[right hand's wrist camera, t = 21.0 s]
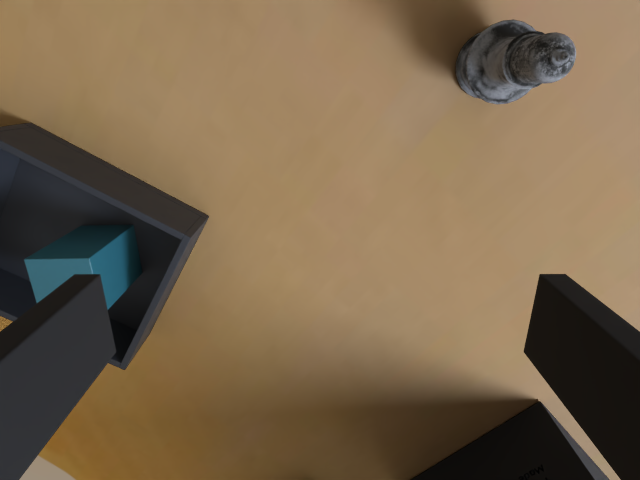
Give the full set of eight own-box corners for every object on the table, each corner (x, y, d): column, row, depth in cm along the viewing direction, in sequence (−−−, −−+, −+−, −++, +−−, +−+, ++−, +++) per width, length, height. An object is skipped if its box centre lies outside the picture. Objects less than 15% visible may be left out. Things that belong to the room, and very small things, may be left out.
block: (80, 225, 39) (23, 259, 31) (133, 224, 39) (89, 258, 31) (92, 273, 40) (40, 316, 33) (142, 273, 40) (102, 316, 33)
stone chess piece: (478, 117, 36) (549, 132, 25) (438, 62, 35) (494, 52, 23) (536, 68, 35) (640, 60, 23) (497, 9, 33) (588, -30, 22)
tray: (209, 215, 39) (190, 237, 34) (149, 334, 44) (124, 370, 38) (-138, 33, 34) (-229, 23, 28) (-164, 190, 39) (-247, 208, 33)
